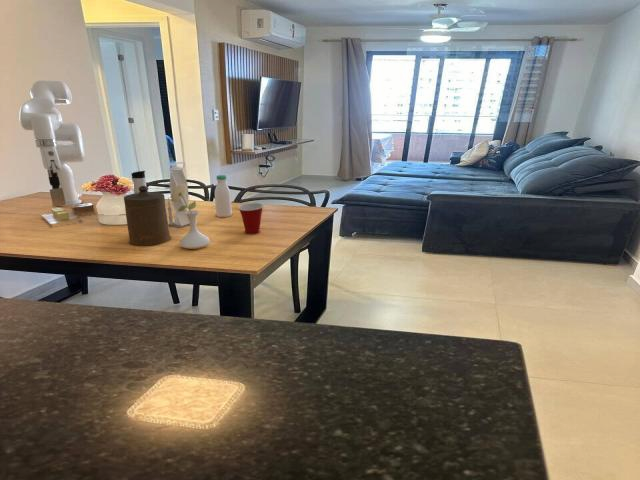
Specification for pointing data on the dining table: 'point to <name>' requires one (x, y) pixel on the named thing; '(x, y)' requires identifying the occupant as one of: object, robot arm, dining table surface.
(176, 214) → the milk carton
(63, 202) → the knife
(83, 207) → the knife block
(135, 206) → the wooden container
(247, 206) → the plastic cup
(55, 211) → the butter
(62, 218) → the butter slice
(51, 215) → the board
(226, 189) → the milk bottle
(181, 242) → the flower in vase
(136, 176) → the travel mug
